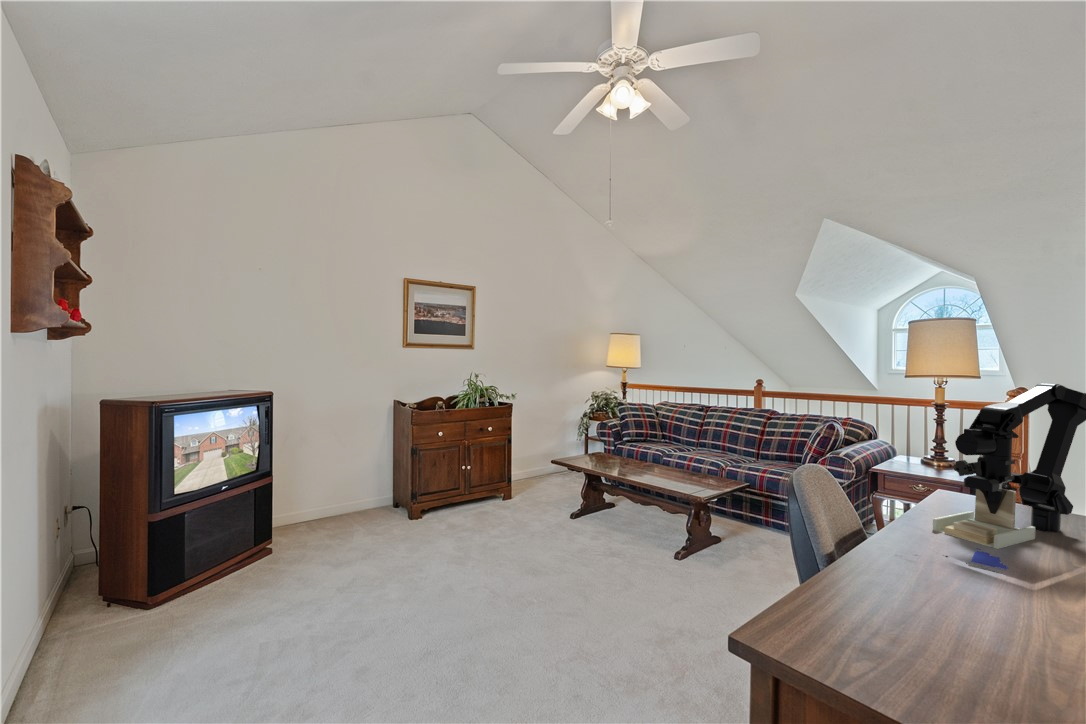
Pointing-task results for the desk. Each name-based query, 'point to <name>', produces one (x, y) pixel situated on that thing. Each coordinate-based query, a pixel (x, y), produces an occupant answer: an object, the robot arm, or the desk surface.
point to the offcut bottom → (969, 535)
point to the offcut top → (975, 528)
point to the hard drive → (986, 561)
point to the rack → (1003, 534)
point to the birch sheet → (1002, 516)
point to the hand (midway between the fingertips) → (994, 513)
